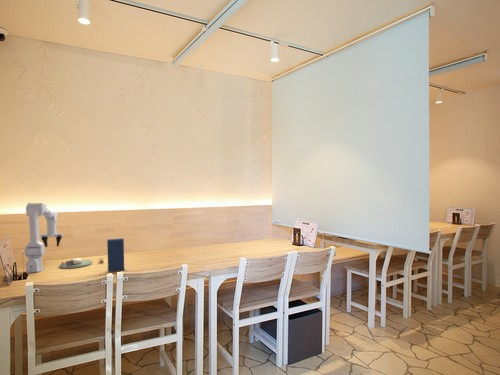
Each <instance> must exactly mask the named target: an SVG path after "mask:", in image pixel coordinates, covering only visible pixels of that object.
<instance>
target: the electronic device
mask: <svg viewBox="0 0 500 375" xmlns="http://www.w3.org/2000/svg"><path fill="white" fill-rule="evenodd" d="M106 241H107V242H106V244H107V245H106V246H107V272H108V273H110V272H118V270H120V271H124V270H125V240H124V238H123V237H121V238H111V239H110V238H109V239H107V240H106ZM109 271H110V272H109Z"/></svg>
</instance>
